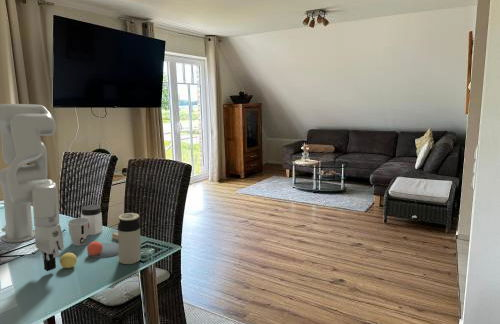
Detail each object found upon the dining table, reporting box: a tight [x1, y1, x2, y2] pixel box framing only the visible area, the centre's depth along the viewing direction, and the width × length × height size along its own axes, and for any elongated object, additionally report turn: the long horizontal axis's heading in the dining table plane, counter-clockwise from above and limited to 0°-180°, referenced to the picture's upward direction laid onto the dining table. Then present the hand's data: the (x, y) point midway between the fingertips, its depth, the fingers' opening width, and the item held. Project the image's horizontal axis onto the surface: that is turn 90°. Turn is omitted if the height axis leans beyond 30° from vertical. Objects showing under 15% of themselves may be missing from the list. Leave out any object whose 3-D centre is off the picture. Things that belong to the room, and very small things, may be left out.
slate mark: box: [87, 242, 119, 259], centre depth 142 cm, size 14×14×1 cm
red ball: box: [86, 240, 103, 255], centre depth 137 cm, size 6×6×6 cm
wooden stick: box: [111, 231, 142, 247], centre depth 150 cm, size 2×16×2 cm, turn 59°
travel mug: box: [117, 212, 142, 265], centre depth 132 cm, size 8×8×18 cm
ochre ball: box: [59, 252, 78, 269], centre depth 126 cm, size 6×6×6 cm
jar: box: [80, 204, 103, 236], centre depth 159 cm, size 9×8×12 cm
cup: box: [67, 217, 89, 247], centre depth 146 cm, size 8×8×10 cm
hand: (50, 269), depth 122 cm, fingers closed
